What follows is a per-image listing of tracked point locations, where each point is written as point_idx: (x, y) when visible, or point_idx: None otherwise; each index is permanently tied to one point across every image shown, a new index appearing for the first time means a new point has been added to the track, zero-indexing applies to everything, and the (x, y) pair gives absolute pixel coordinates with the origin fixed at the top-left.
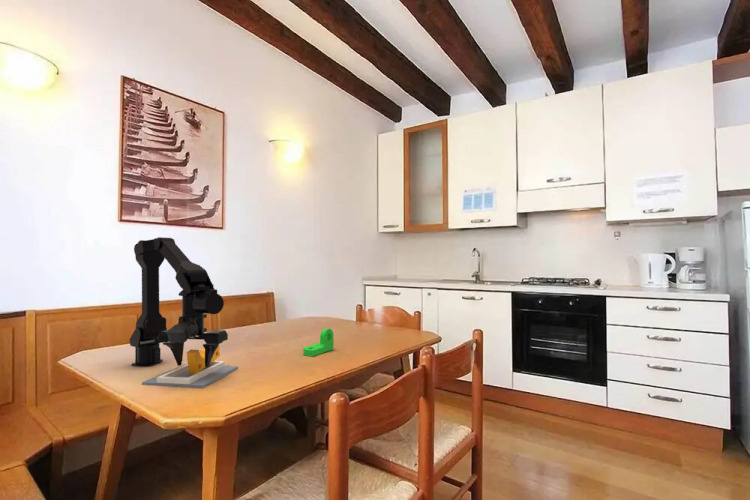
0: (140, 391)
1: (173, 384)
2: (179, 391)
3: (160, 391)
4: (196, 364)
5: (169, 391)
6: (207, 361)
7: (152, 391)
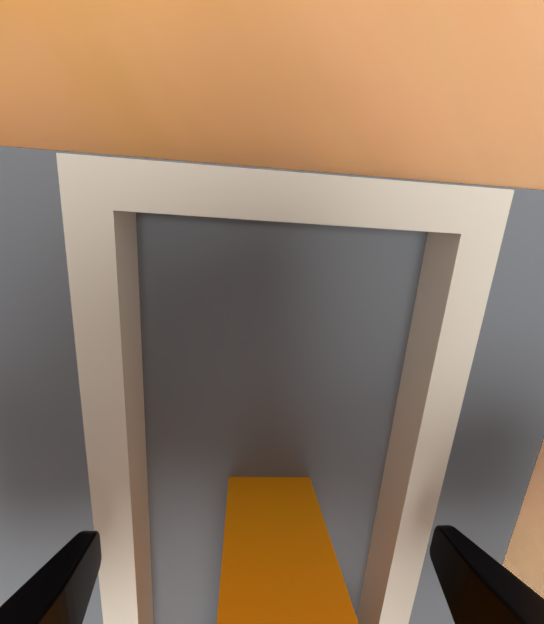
0: (529, 7)
1: (274, 169)
2: (116, 26)
3: (324, 17)
4: (222, 555)
5: (227, 21)
6: (8, 599)
7: (407, 13)
